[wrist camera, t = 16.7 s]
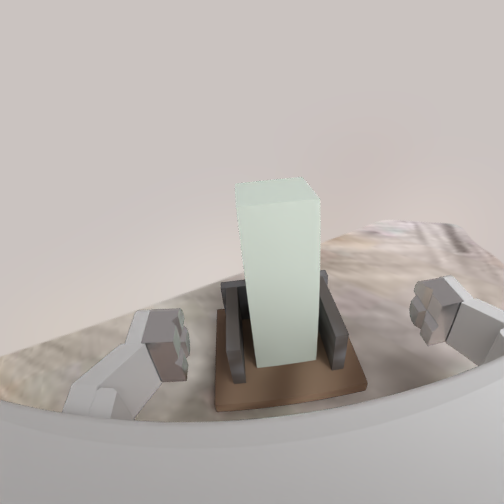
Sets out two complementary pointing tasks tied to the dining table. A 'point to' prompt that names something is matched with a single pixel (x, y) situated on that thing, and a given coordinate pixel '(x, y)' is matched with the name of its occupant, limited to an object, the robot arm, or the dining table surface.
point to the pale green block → (281, 267)
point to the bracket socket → (282, 376)
